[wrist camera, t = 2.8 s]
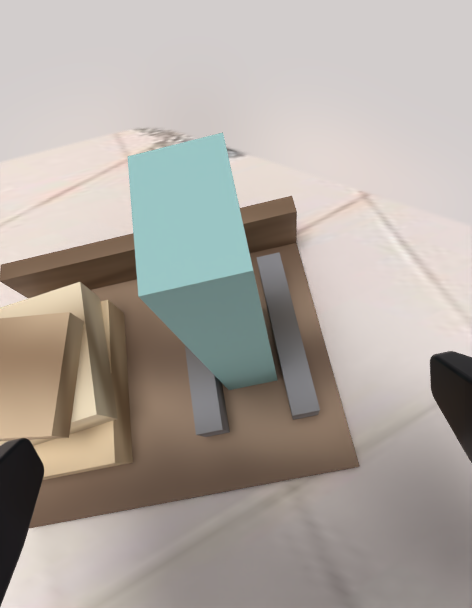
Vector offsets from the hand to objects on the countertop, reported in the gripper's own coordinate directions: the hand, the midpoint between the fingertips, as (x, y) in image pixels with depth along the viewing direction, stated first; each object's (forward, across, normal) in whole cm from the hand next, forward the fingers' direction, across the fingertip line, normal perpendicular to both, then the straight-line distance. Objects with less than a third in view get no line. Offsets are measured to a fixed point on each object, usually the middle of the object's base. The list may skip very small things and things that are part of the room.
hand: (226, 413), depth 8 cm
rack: (+11, +4, +5) cm, 13 cm away
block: (+11, 0, +4) cm, 11 cm away
